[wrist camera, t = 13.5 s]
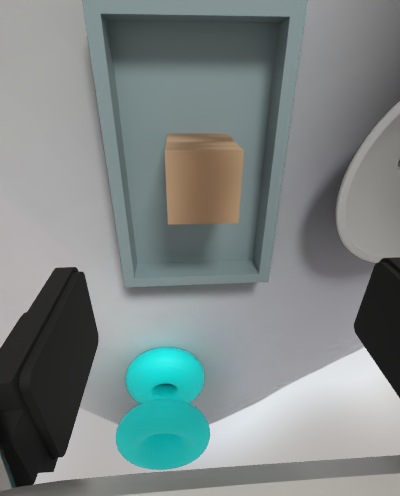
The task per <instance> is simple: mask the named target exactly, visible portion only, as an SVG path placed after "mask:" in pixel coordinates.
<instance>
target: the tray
mask: <svg viewBox="0 0 400 496" xmlns="http://www.w3.org/2000/svg"><path fill="white" fill-rule="evenodd" d="M307 1H308V0H82V3H83V10H84V17H85V23H86V30H87V37H88V43H89V50H90V57H91V64H92V70H93V77H94V84H95V90H96V97H97V104H98V111H99V117H100V124H101V131H102V138H103V144H104V151H105V158H106V164H107V171H108V178H109V185H110V191H111V198H112V205H113V211H114V218H115V225H116V232H117V238H118V245H119V252H120V259H121V265H122V272H123V279H124V285H125V287H149V286H175V285H201V284H228V283H254V282H268V280H269V272H270V265H271V258H272V251H273V244H274V237H275V230H276V222H277V215H278V208H279V201H280V194H281V187H282V179H283V172H284V165H285V158H286V151H287V144H288V137H289V129H290V122H291V115H292V108H293V101H294V94H295V87H296V79H297V72H298V65H299V58H300V51H301V44H302V37H303V29H304V22H305V15H306V8H307ZM168 133H228V134H229V135H230V136H231V138H232V139H233V140H234V141H235V142H236V143H237V144H238V145H239V146H240V147H241V148H242V149H243V151H244V158H243V171H242V183H241V196H240V208H239V221H238V223H222V224H169V225H168V214H167V193H166V171H165V146H166V140H167V134H168Z"/></svg>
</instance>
